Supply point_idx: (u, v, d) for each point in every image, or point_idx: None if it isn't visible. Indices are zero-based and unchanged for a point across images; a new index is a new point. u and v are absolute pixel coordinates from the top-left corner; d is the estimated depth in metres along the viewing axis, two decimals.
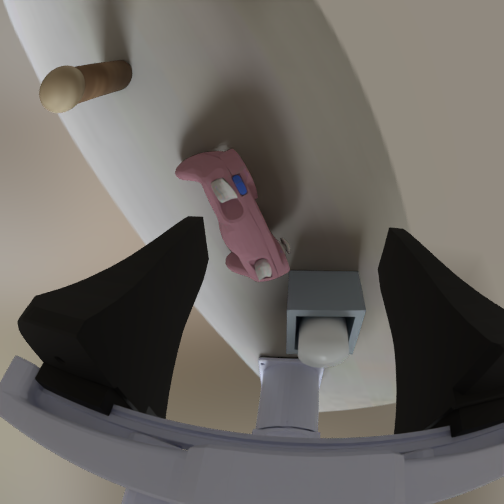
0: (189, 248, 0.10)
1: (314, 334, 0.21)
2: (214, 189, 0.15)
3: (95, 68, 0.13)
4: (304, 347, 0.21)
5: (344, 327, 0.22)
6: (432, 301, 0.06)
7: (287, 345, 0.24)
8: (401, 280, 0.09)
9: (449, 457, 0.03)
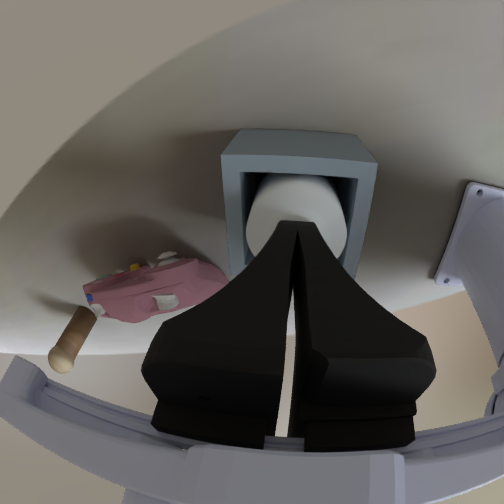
0: (294, 254, 0.09)
1: None
2: (95, 315, 0.17)
3: (62, 334, 0.23)
4: None
5: (269, 180, 0.12)
6: (304, 297, 0.07)
7: None
8: (298, 275, 0.09)
9: (449, 457, 0.03)
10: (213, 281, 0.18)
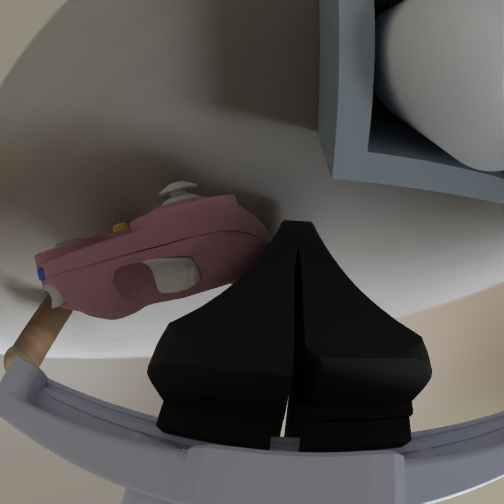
0: None
1: (400, 91, 0.04)
2: (52, 305, 0.09)
3: (23, 330, 0.15)
4: (444, 139, 0.04)
5: None
6: (300, 297, 0.07)
7: (497, 199, 0.05)
8: (295, 275, 0.09)
9: (449, 457, 0.03)
10: (262, 241, 0.10)
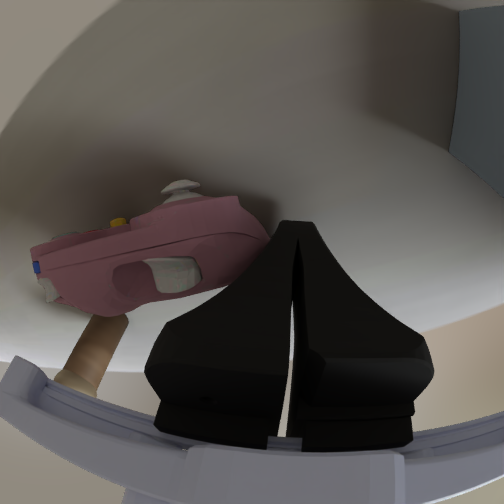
0: (296, 254, 0.09)
1: None
2: (46, 299, 0.09)
3: (74, 349, 0.14)
4: None
5: None
6: (302, 297, 0.07)
7: None
8: (296, 275, 0.09)
9: (449, 457, 0.03)
10: (262, 244, 0.10)
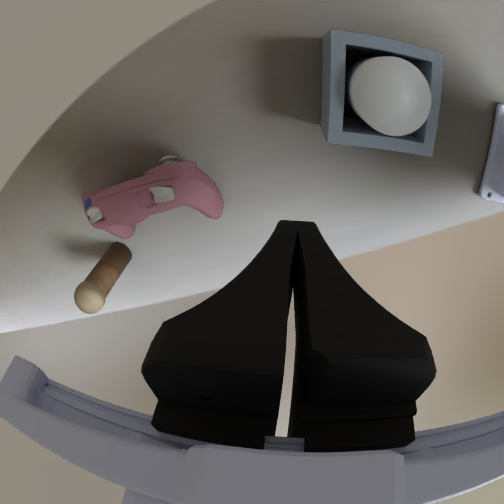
0: (294, 254, 0.09)
1: (354, 106, 0.12)
2: (90, 222, 0.18)
3: (92, 270, 0.23)
4: (372, 124, 0.12)
5: (363, 60, 0.11)
6: (304, 297, 0.07)
7: (411, 152, 0.13)
8: (298, 275, 0.09)
9: (449, 457, 0.03)
10: (208, 187, 0.18)
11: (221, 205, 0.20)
